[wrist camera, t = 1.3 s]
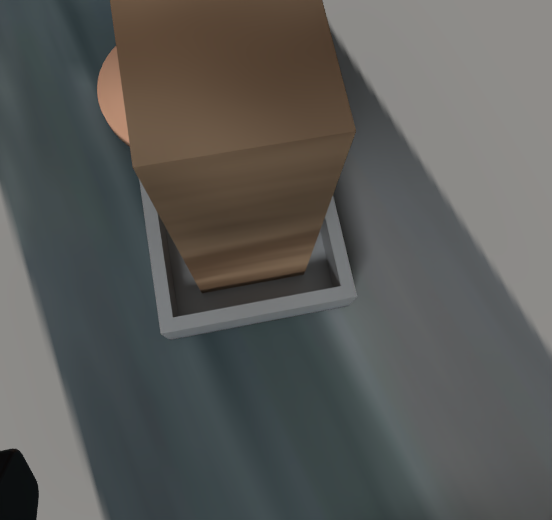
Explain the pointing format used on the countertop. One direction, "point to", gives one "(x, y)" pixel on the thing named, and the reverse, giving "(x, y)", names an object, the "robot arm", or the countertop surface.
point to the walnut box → (234, 129)
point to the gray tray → (250, 298)
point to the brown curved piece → (112, 96)
